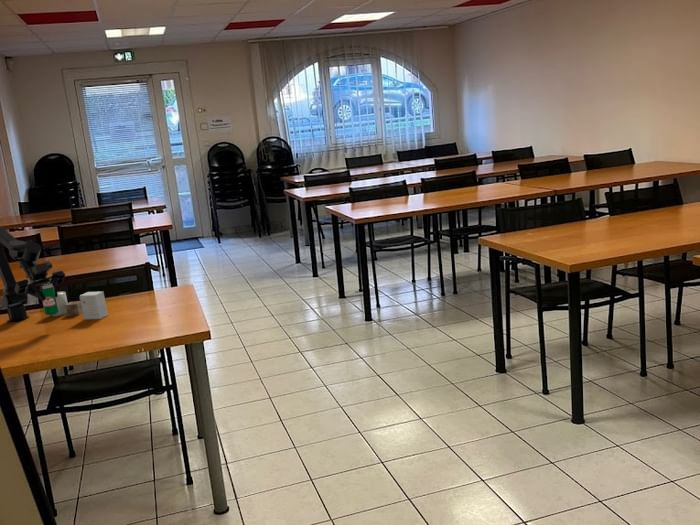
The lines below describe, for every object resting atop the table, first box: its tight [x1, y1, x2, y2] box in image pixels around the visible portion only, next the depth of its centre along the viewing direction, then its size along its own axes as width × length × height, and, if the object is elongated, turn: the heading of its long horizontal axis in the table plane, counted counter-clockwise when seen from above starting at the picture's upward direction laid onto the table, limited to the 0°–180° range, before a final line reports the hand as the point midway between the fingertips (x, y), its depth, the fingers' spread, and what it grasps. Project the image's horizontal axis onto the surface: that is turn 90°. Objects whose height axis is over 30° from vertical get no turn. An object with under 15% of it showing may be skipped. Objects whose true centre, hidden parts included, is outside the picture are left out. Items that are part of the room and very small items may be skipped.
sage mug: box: [51, 291, 69, 317], centre depth 285 cm, size 8×7×9 cm
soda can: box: [39, 283, 59, 316], centre depth 259 cm, size 5×5×12 cm
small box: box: [79, 290, 109, 320], centre depth 273 cm, size 8×6×10 cm
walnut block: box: [65, 300, 83, 317], centre depth 282 cm, size 5×5×5 cm
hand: (50, 298), depth 258 cm, fingers closed on soda can, 5 cm apart
